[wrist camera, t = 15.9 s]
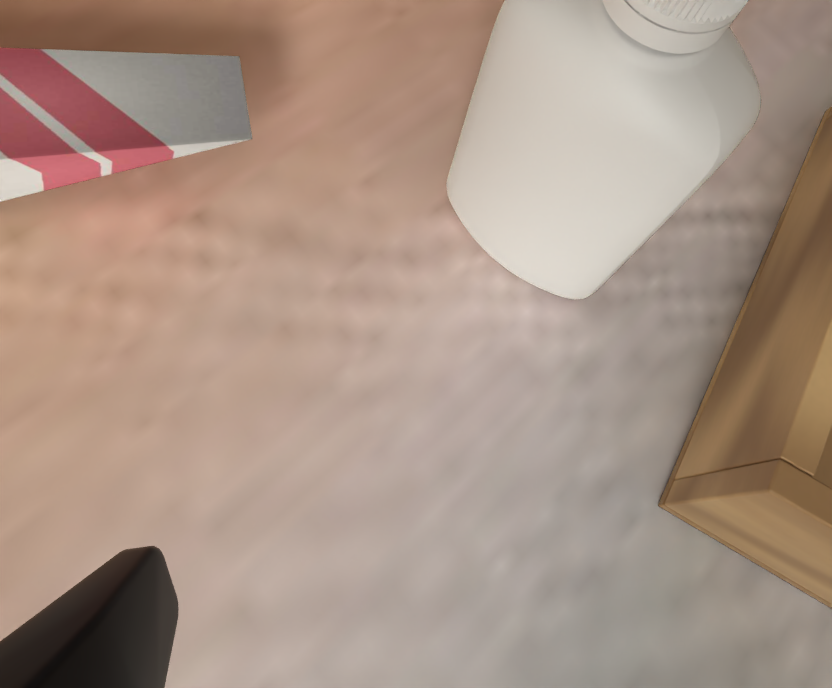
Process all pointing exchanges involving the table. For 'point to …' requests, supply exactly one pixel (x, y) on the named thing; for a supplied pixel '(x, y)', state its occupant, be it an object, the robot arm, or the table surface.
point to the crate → (773, 403)
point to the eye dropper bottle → (596, 130)
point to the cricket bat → (110, 113)
